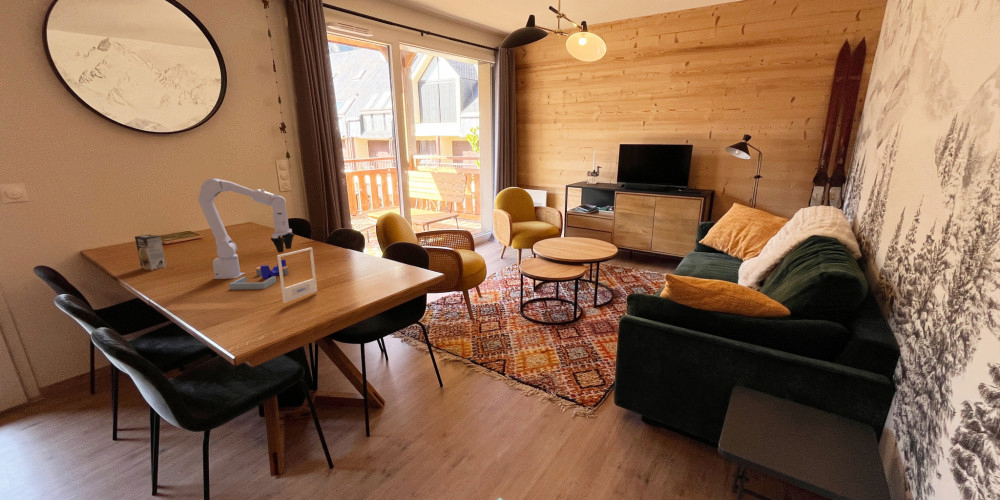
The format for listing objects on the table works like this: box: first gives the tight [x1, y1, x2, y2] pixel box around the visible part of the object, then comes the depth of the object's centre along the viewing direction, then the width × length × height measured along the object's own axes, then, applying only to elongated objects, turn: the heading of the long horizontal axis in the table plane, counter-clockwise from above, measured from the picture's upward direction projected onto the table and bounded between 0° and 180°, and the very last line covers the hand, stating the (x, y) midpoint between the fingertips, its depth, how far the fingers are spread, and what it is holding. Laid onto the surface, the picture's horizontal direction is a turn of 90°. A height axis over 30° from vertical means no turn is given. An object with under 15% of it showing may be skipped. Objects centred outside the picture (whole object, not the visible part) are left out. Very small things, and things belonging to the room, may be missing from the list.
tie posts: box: [255, 265, 290, 277], centre depth 184 cm, size 13×3×4 cm, turn 93°
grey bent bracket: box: [228, 276, 277, 291], centre depth 169 cm, size 14×10×2 cm
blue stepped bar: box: [259, 259, 287, 280], centre depth 184 cm, size 12×4×6 cm, turn 168°
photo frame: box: [276, 247, 318, 304], centre depth 153 cm, size 15×1×18 cm, turn 155°
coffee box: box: [134, 234, 167, 271], centre depth 195 cm, size 9×6×16 cm
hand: (284, 250), depth 189 cm, fingers open, 7 cm apart
